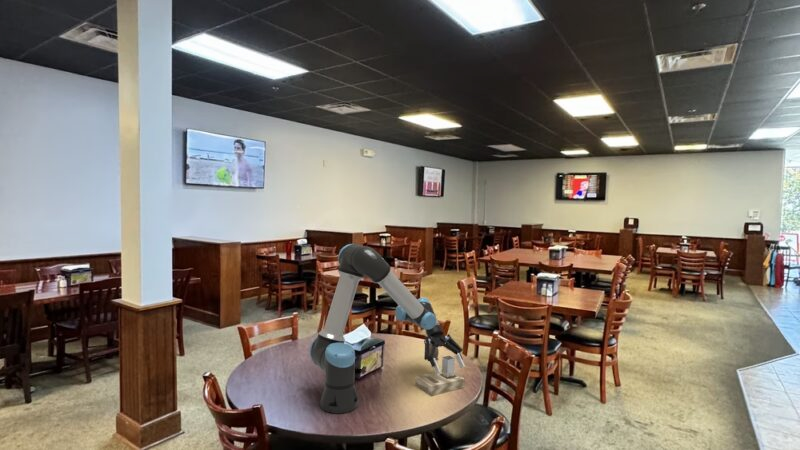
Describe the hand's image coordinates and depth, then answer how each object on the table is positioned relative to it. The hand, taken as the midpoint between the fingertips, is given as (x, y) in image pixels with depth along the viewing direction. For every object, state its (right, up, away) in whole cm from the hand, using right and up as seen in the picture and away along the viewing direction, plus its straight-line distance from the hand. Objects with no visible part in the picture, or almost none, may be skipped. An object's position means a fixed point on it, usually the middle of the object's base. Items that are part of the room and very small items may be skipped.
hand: (451, 370), depth 190 cm
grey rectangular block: (-1, -7, +2) cm, 7 cm away
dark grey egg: (-6, -5, +33) cm, 34 cm away
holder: (-5, -7, 0) cm, 9 cm away
